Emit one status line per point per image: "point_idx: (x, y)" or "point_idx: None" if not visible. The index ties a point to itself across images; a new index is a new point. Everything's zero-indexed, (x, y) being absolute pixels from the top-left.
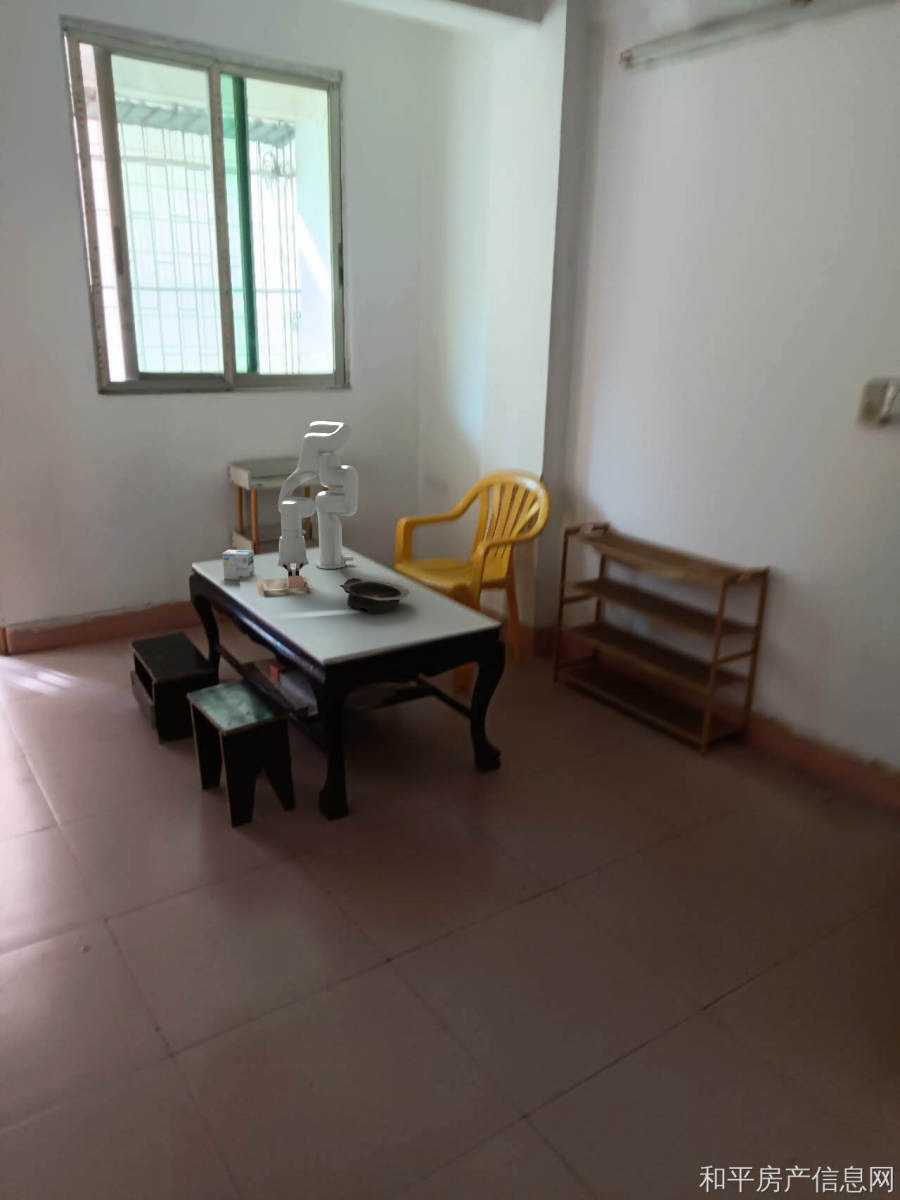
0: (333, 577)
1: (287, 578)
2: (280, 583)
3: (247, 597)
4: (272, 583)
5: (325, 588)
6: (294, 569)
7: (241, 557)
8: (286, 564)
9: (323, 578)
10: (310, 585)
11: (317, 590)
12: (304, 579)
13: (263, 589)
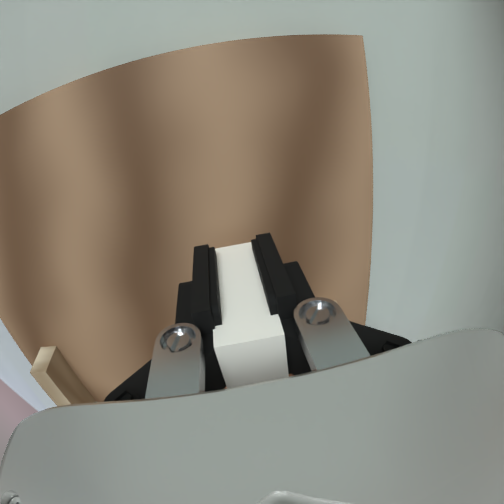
0: (495, 31)
1: (151, 76)
2: (112, 248)
3: (27, 387)
4: (51, 249)
5: (432, 262)
6: (270, 378)
7: None
8: (148, 394)
9: (450, 26)
10: (361, 297)
11: (384, 300)
12: (332, 126)
13: None
